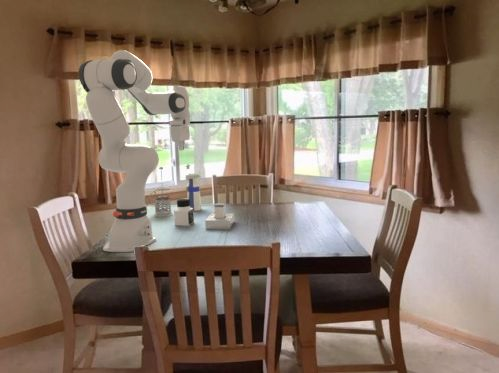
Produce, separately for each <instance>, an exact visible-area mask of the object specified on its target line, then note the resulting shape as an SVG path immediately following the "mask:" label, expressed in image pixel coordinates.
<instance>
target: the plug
mask: <svg viewBox="0 0 499 373" xmlns="http://www.w3.org/2000/svg"><path fill="white" fill-rule="evenodd" d="M225 203H226V202H225ZM225 203H224V202H223V203H222V202H216V203H215V204H214V213H215V218H225V213H226V204H225Z"/></svg>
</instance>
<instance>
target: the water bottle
mask: <svg viewBox="0 0 499 373" xmlns="http://www.w3.org/2000/svg"><path fill="white" fill-rule="evenodd" d="M190 166H191V165H190V164H189V163H187V165H185V167H186V170H190ZM200 178H201V174H200V173H189V174H186V175H185V181H187V184H186V187H185V189H186V193H187V194H186V195H187V196H186V198H187V199H189V200H190V208H193V212H197V211H200V210H202V203H201V202H202V200H201V192H200V186H201V185H200V182H199V180H200Z"/></svg>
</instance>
